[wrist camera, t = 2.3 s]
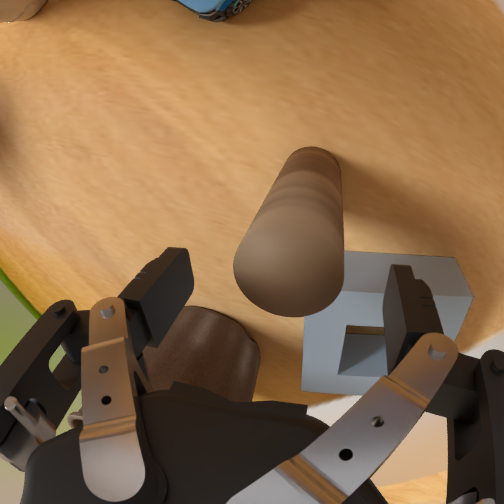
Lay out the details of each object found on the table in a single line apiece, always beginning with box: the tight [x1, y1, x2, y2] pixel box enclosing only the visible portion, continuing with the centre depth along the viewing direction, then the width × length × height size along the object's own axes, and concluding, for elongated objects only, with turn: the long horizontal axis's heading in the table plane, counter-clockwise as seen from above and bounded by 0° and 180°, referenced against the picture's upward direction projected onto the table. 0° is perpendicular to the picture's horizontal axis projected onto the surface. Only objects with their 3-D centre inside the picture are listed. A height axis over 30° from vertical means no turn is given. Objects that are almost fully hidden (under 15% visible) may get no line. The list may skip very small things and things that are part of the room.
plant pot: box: [67, 306, 260, 429], centre depth 27 cm, size 16×16×16 cm
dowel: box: [233, 147, 344, 317], centre depth 16 cm, size 4×4×12 cm
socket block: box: [301, 251, 474, 395], centre depth 23 cm, size 12×12×5 cm
